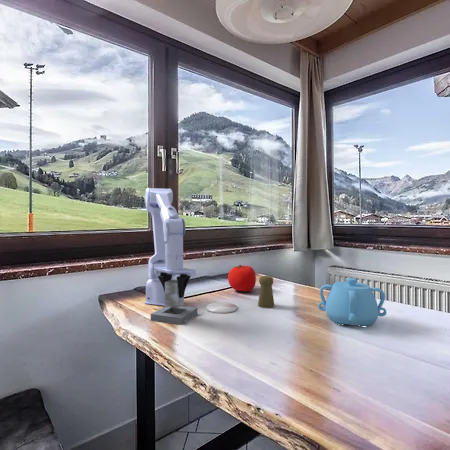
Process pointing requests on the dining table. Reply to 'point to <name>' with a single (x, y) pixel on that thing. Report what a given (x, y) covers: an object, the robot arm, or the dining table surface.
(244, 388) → the dining table surface
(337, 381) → the dining table surface
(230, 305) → the ceramic coaster
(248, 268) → the tomato
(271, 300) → the cork
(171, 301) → the grey-blue peg
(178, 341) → the dining table surface
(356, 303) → the decorative pot
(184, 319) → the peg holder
